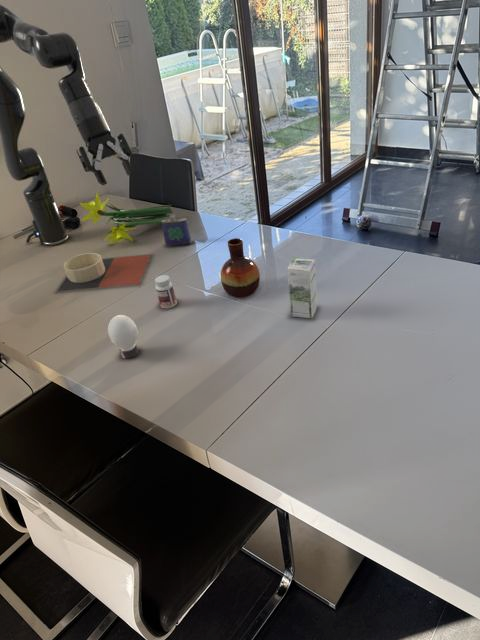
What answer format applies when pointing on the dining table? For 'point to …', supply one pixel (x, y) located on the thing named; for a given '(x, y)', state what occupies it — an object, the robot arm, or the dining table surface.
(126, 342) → the light bulb
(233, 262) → the vase
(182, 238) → the flask
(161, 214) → the daffodil flowers
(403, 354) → the dining table surface
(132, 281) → the placemat
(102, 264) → the bowl
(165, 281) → the pill bottle
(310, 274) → the syrup box
